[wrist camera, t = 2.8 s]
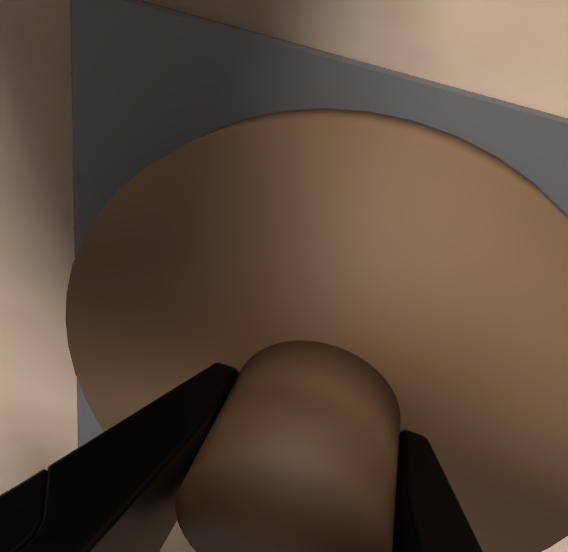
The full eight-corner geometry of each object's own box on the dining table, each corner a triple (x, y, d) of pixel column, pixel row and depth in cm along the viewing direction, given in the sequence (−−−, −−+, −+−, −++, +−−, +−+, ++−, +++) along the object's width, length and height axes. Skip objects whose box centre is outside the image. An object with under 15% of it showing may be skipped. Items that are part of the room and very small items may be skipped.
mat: (478, 585, 12) (480, 610, 12) (91, 435, 13) (78, 451, 13) (825, 188, 6) (858, 204, 6) (94, -12, 8) (70, -14, 7)
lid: (470, 592, 11) (486, 795, 8) (96, 447, 13) (-7, 581, 10) (786, 224, 6) (1111, 415, 3) (97, 32, 7) (-125, 45, 4)
